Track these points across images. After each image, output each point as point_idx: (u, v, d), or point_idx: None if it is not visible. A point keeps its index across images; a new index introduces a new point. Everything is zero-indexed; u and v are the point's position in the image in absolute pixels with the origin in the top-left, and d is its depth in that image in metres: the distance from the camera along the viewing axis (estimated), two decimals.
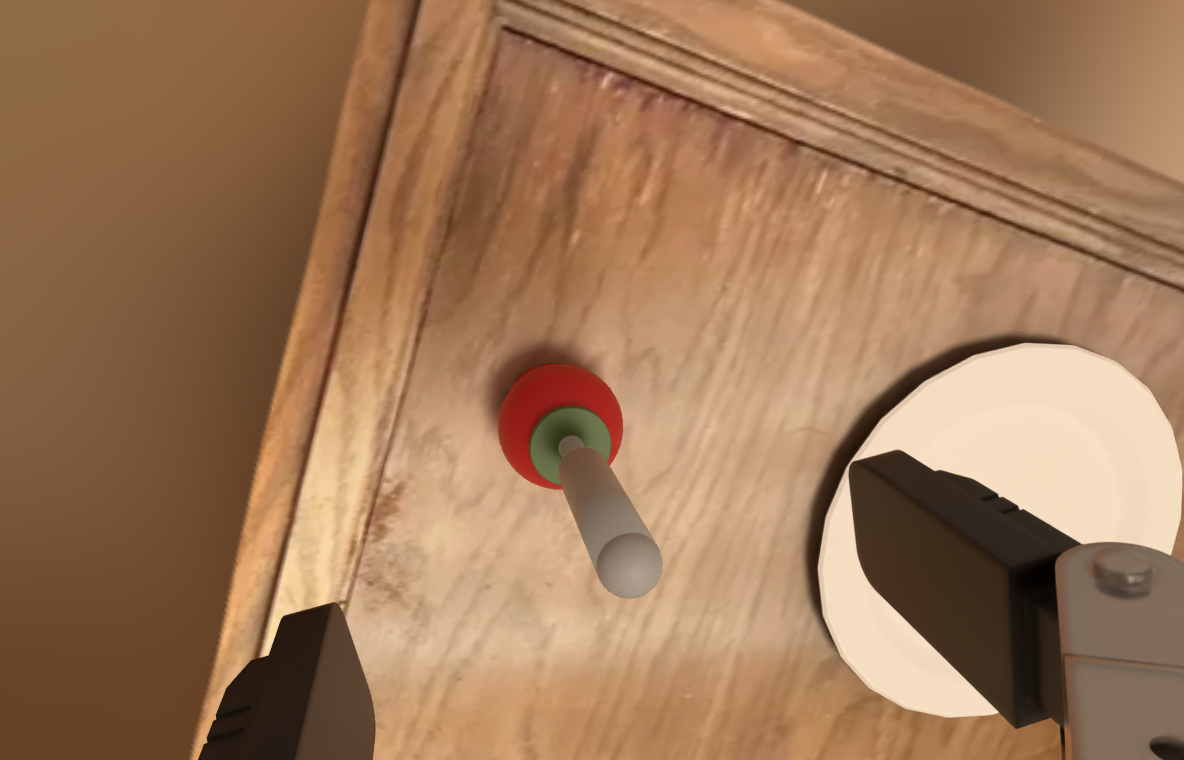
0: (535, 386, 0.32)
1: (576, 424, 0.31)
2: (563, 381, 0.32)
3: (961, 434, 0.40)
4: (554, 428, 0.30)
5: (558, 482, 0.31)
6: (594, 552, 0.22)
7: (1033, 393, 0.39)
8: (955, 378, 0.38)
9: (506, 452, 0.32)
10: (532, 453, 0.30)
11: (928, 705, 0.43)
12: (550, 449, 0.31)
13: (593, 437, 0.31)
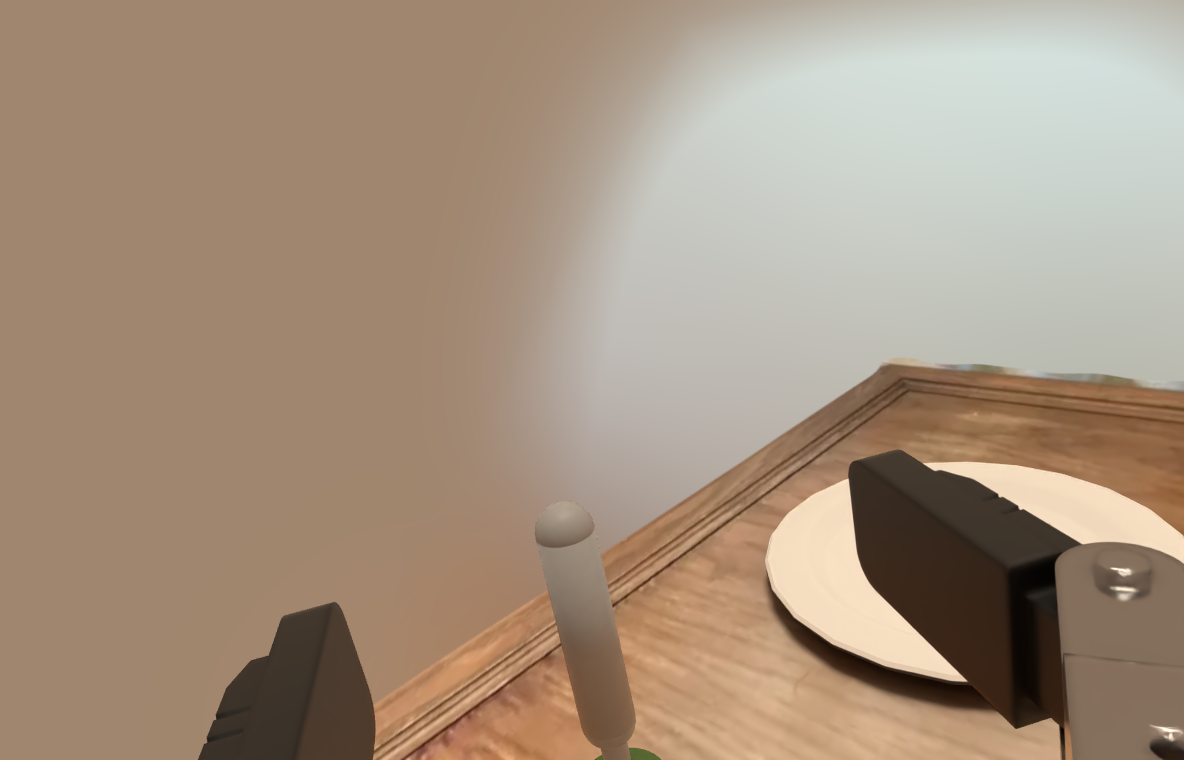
0: None
1: None
2: None
3: (842, 577, 0.44)
4: None
5: None
6: (547, 558, 0.23)
7: (815, 532, 0.47)
8: (778, 571, 0.44)
9: None
10: None
11: None
12: None
13: None
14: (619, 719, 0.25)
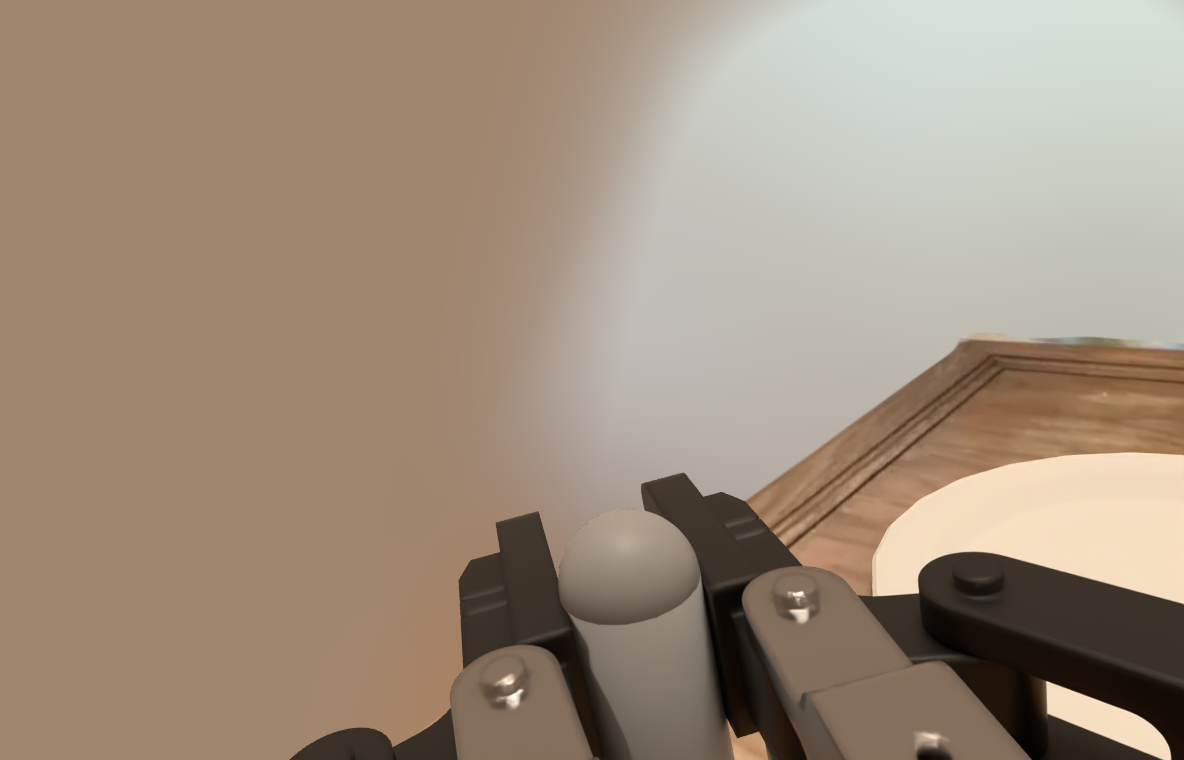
0: None
1: None
2: None
3: None
4: None
5: None
6: (589, 649, 0.10)
7: (938, 552, 0.33)
8: None
9: None
10: None
11: None
12: None
13: None
14: None
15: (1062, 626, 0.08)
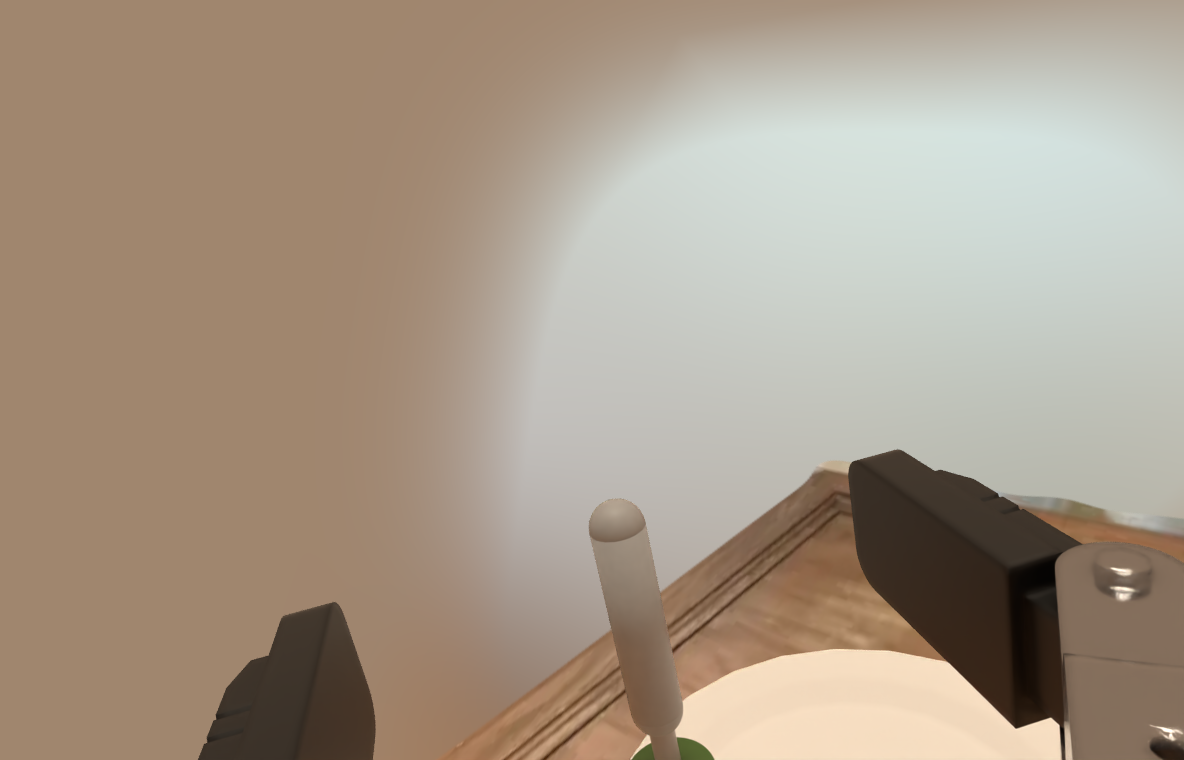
0: None
1: None
2: None
3: None
4: None
5: None
6: (601, 553, 0.25)
7: None
8: None
9: None
10: None
11: None
12: None
13: None
14: (669, 707, 0.26)
15: None
